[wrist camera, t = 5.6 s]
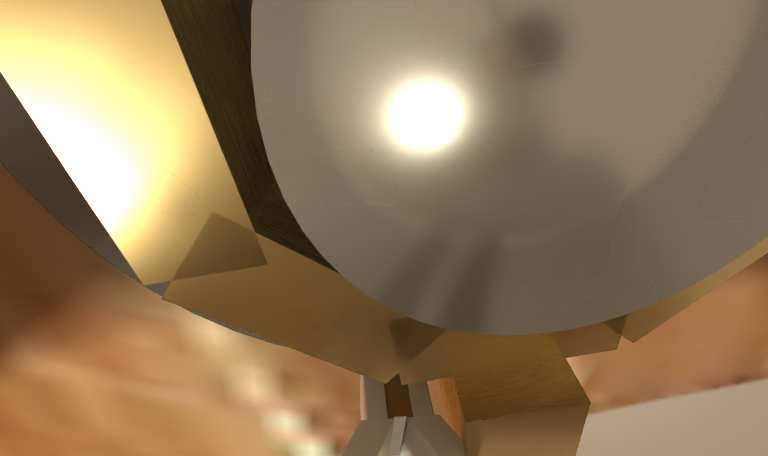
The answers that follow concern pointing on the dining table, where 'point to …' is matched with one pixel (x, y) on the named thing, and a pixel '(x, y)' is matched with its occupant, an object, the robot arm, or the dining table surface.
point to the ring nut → (266, 215)
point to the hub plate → (494, 150)
